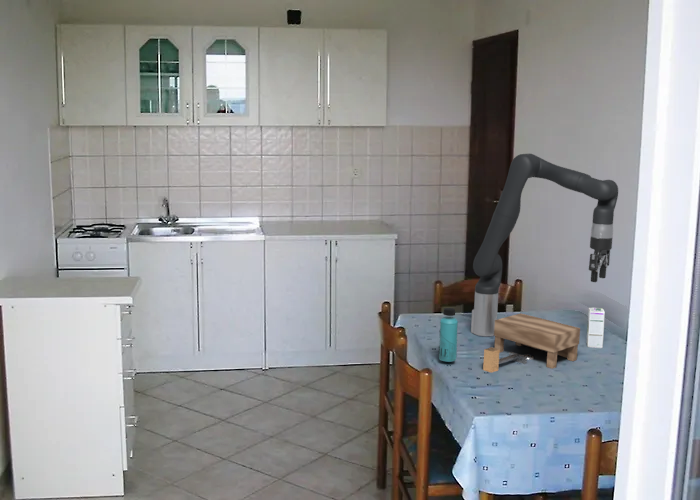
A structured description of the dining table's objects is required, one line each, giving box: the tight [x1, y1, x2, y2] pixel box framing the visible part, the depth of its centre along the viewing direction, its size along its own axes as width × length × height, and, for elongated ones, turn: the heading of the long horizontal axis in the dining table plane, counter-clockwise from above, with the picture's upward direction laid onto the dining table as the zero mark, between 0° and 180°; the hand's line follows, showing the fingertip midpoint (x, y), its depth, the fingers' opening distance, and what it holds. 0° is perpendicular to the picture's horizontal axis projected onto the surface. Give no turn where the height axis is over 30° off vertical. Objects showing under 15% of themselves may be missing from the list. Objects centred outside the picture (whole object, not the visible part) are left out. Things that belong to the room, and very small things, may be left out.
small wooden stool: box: [494, 312, 581, 369], centre depth 286 cm, size 16×26×12 cm, turn 42°
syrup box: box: [585, 307, 606, 349], centre depth 300 cm, size 6×6×14 cm
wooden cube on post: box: [482, 346, 528, 373], centre depth 274 cm, size 18×7×8 cm, turn 132°
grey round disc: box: [523, 354, 535, 361], centre depth 284 cm, size 4×4×1 cm
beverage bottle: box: [438, 307, 459, 363], centre depth 275 cm, size 6×7×20 cm
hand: (598, 279), depth 282 cm, fingers open, 8 cm apart
